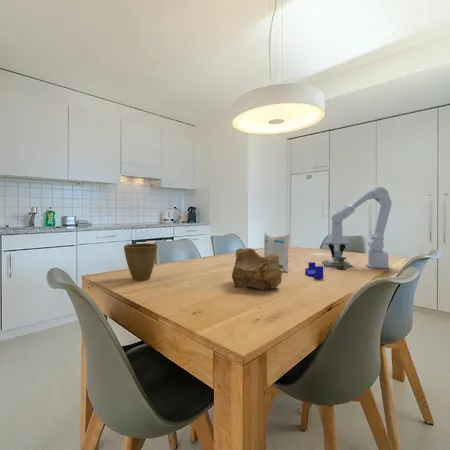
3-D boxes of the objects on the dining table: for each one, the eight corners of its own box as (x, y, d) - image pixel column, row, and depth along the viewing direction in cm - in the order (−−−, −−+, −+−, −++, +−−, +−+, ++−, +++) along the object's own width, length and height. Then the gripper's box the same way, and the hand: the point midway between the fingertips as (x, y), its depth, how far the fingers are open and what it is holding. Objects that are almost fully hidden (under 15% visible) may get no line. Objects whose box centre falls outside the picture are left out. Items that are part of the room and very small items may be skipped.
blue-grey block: (338, 260, 165) (338, 249, 165) (341, 261, 159) (341, 251, 159) (332, 259, 166) (332, 249, 165) (334, 261, 160) (334, 251, 159)
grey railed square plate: (346, 262, 168) (346, 258, 168) (352, 267, 155) (352, 263, 154) (321, 262, 171) (321, 258, 170) (326, 266, 157) (326, 262, 157)
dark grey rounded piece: (344, 267, 154) (345, 257, 154) (347, 269, 149) (347, 258, 149) (335, 267, 155) (335, 256, 154) (337, 269, 150) (337, 258, 149)
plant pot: (118, 279, 130) (117, 245, 129) (146, 274, 141) (146, 242, 140) (135, 285, 120) (134, 248, 119) (164, 279, 131) (163, 244, 130)
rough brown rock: (217, 285, 121) (215, 252, 119) (245, 276, 131) (243, 245, 130) (257, 300, 103) (255, 260, 101) (285, 288, 114) (284, 252, 112)
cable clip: (305, 274, 140) (305, 262, 139) (314, 274, 140) (314, 262, 140) (313, 280, 128) (313, 267, 127) (323, 279, 128) (323, 266, 128)
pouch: (281, 273, 140) (281, 233, 139) (259, 267, 157) (259, 231, 156) (293, 272, 144) (293, 233, 143) (271, 265, 161) (271, 231, 160)
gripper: (325, 234, 159) (324, 258, 160) (352, 234, 157) (351, 258, 157) (322, 233, 166) (322, 256, 167) (348, 233, 164) (348, 256, 164)
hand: (336, 257), depth 162 cm, fingers closed on blue-grey block, 3 cm apart
